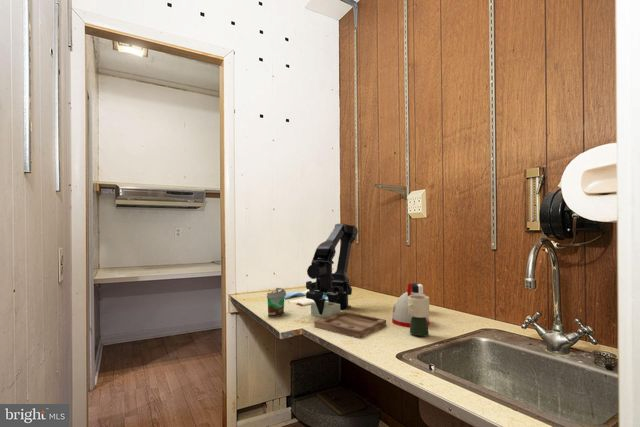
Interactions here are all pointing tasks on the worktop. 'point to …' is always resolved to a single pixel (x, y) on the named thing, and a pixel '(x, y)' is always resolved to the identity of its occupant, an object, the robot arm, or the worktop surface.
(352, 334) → the brown recessed board
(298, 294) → the rubber gloves
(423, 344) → the worktop surface
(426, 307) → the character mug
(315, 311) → the pale green spotted block
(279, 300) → the food container
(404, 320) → the kitchen timer
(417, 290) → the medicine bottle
